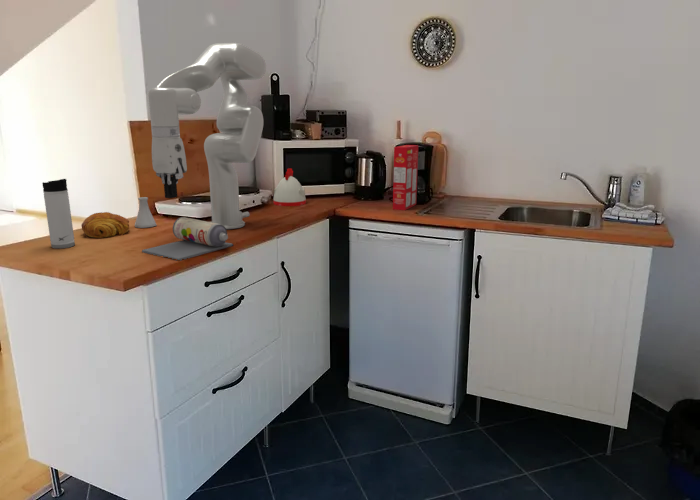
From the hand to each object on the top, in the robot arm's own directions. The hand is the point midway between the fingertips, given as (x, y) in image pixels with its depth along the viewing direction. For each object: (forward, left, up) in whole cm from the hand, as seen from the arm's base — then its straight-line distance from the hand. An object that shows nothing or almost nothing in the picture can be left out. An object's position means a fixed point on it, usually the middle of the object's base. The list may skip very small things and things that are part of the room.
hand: (171, 197), depth 156 cm
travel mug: (+19, -27, -15) cm, 36 cm away
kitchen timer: (-76, -20, -15) cm, 80 cm away
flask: (-12, -31, -15) cm, 36 cm away
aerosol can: (-6, -4, -11) cm, 13 cm away
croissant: (+2, -32, -15) cm, 36 cm away
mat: (0, +6, -15) cm, 16 cm away
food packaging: (-97, +25, -15) cm, 101 cm away
